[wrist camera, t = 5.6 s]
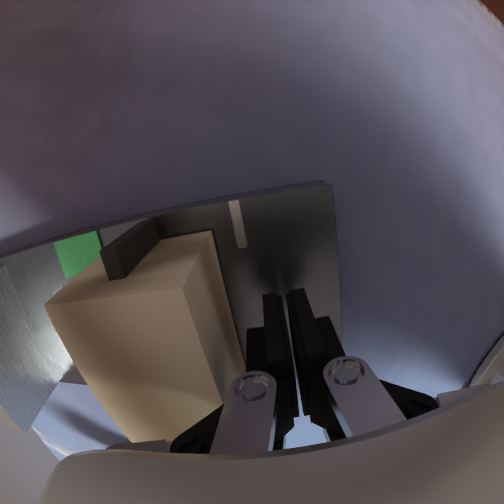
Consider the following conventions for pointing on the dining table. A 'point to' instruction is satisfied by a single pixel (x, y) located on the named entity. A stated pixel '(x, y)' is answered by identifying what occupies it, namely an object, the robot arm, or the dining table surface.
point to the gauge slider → (151, 331)
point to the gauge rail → (168, 226)
